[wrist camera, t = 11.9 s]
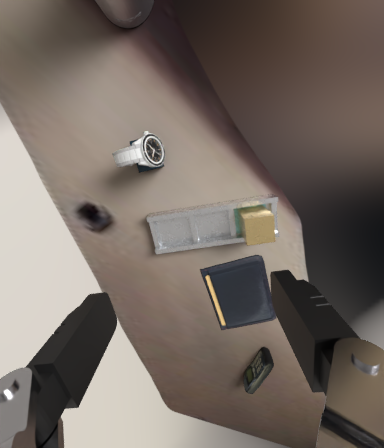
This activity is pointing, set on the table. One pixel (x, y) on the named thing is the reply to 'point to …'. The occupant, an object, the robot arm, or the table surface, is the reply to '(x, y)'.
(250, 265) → the dark blue notebook
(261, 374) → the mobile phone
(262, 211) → the tan block
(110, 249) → the table surface
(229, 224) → the tray with compartments
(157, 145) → the watch
